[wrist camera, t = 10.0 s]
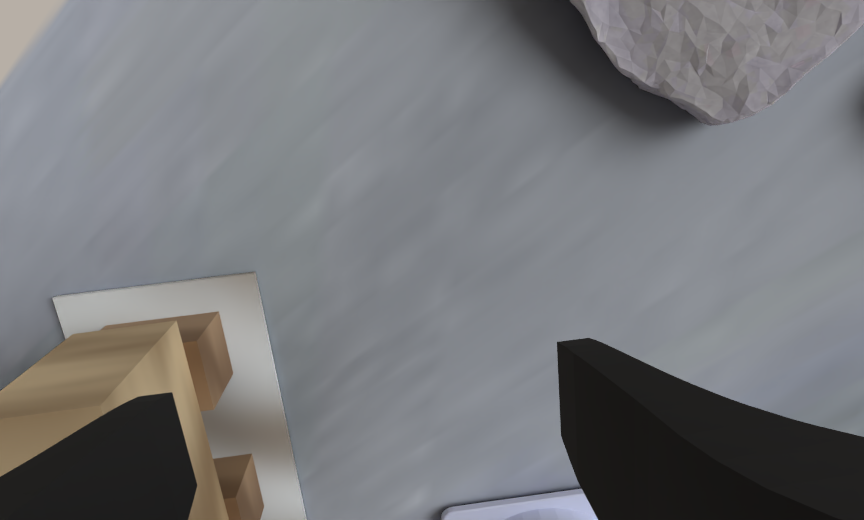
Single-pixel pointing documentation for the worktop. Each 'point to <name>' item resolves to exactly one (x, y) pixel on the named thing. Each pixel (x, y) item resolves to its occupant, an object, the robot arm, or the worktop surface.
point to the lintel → (107, 398)
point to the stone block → (719, 47)
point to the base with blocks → (216, 379)
